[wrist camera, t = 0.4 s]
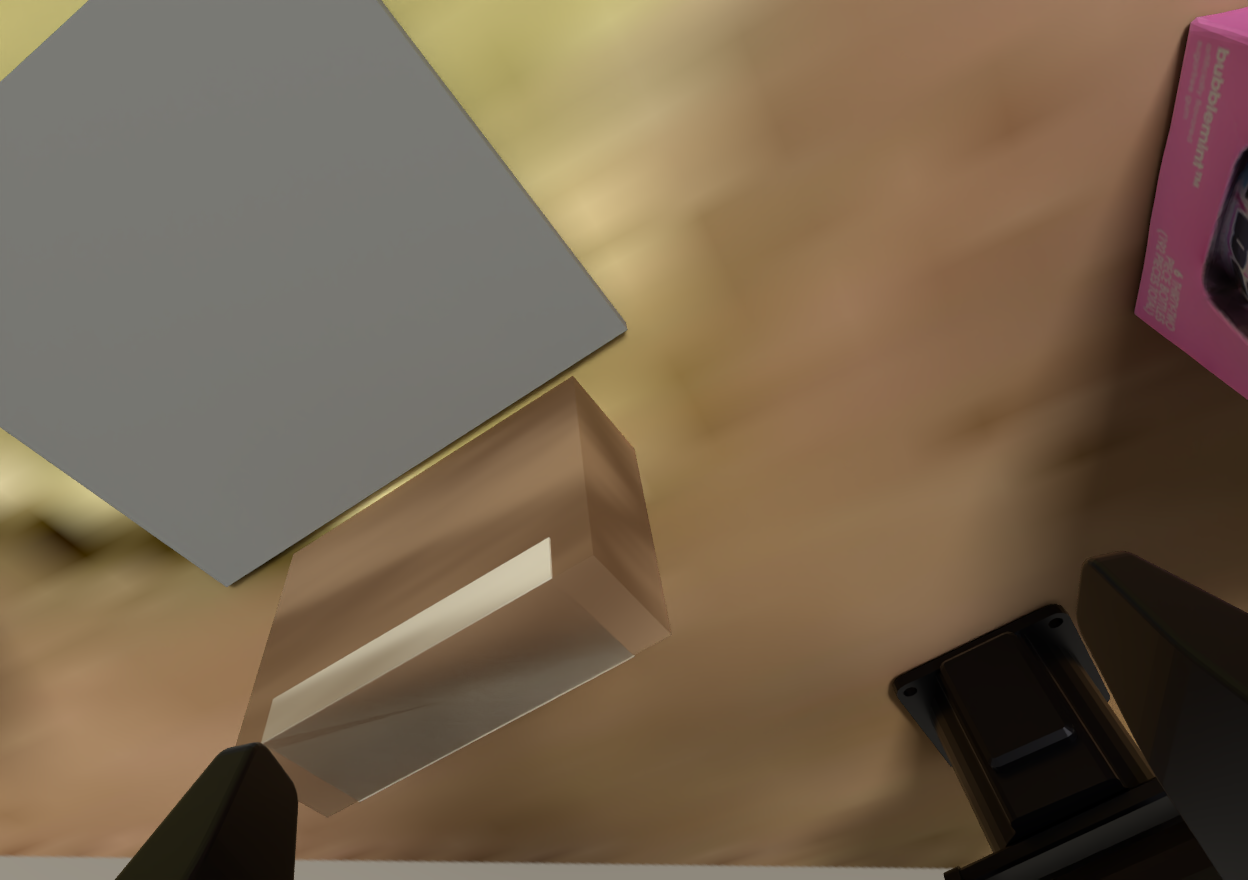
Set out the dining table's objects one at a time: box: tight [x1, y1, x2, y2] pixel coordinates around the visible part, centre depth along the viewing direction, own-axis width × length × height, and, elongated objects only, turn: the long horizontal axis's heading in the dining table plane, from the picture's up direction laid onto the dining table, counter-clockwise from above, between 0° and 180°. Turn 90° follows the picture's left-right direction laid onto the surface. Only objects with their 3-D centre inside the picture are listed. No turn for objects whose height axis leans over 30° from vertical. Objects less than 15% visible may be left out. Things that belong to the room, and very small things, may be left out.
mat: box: [0, 0, 627, 587], centre depth 20 cm, size 12×14×1 cm
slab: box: [236, 376, 672, 817], centre depth 22 cm, size 3×10×7 cm, turn 123°
